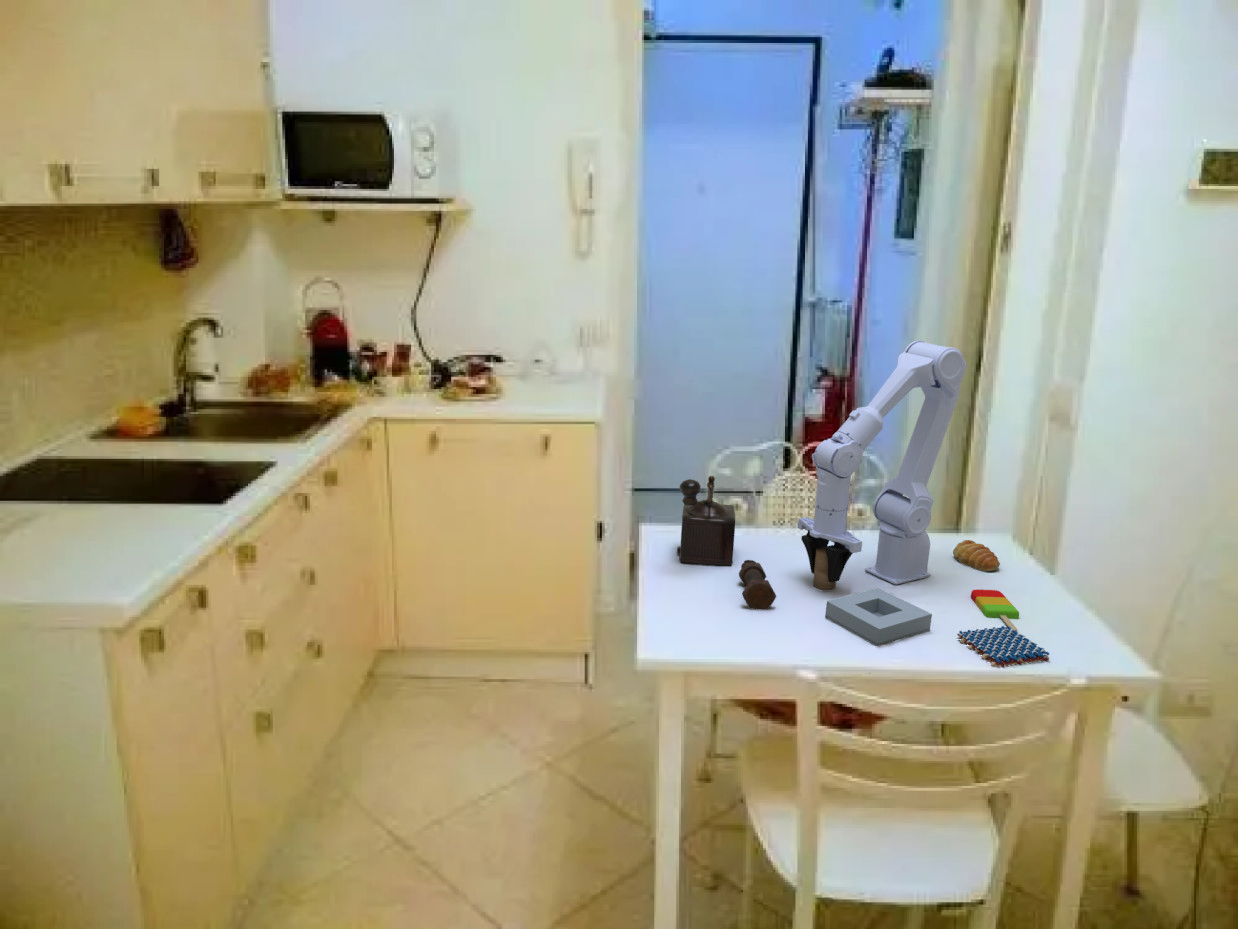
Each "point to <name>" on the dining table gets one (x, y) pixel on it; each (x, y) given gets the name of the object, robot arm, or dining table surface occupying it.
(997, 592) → the popsicle
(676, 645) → the dining table surface
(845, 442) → the robot arm
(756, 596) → the bolt
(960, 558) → the pastry
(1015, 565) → the dining table surface
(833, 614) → the socket block
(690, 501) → the manual coffee grinder
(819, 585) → the peg
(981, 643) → the woven mat
